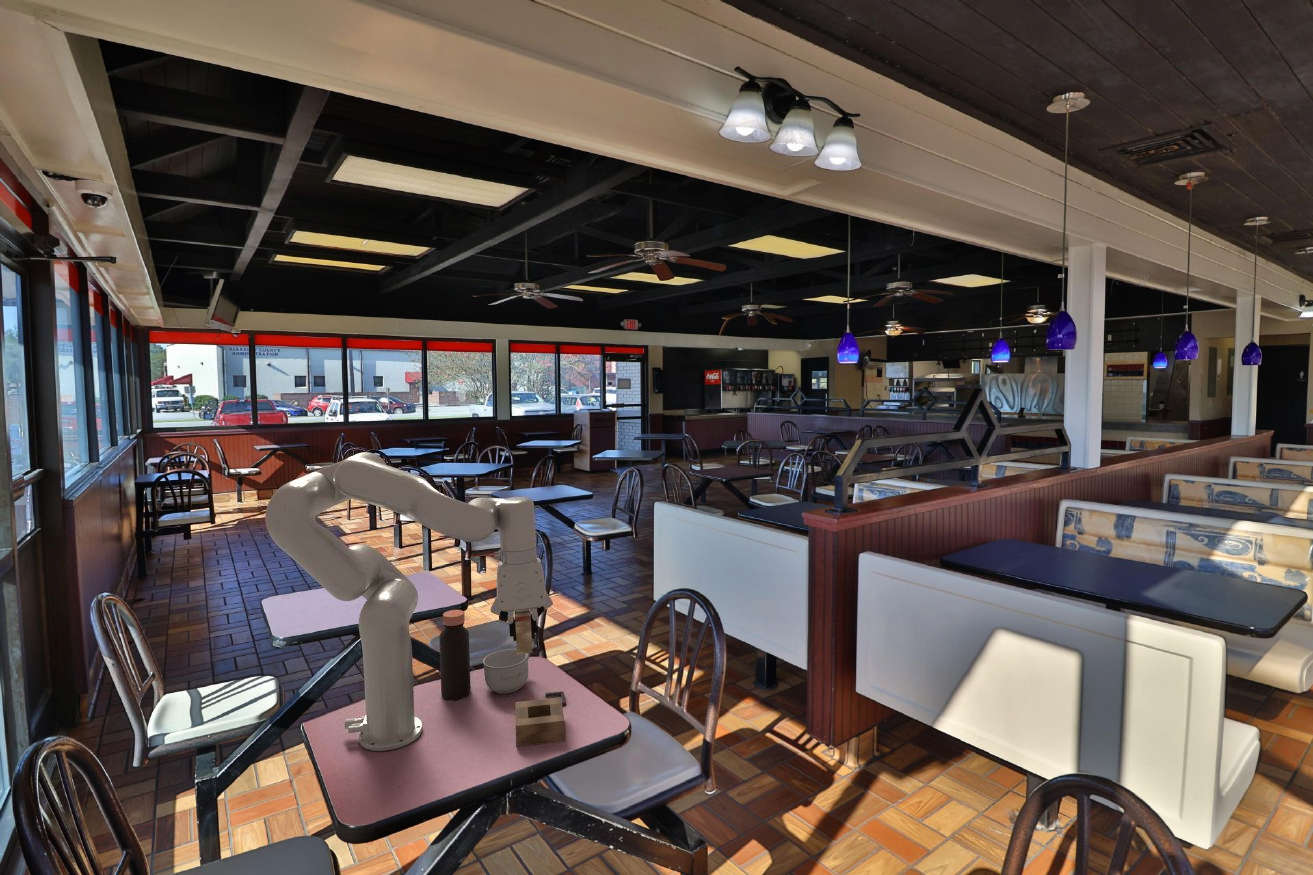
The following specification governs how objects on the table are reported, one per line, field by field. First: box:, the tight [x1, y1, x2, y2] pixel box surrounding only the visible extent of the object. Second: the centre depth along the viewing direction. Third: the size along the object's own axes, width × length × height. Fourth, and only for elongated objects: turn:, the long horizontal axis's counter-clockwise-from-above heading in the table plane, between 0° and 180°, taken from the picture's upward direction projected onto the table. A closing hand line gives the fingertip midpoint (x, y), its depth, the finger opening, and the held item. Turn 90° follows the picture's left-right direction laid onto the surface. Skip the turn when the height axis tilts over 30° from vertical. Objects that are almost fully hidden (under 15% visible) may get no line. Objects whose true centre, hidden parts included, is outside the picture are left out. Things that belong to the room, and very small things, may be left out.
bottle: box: [438, 609, 472, 701], centre depth 158 cm, size 7×7×20 cm
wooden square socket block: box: [514, 697, 566, 747], centre depth 142 cm, size 10×10×4 cm
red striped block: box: [514, 609, 533, 655], centre depth 143 cm, size 3×3×9 cm
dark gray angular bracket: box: [545, 691, 566, 707], centre depth 155 cm, size 8×6×1 cm
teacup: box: [482, 648, 531, 695], centre depth 163 cm, size 14×11×8 cm
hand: (523, 636), depth 143 cm, fingers closed on red striped block, 3 cm apart
